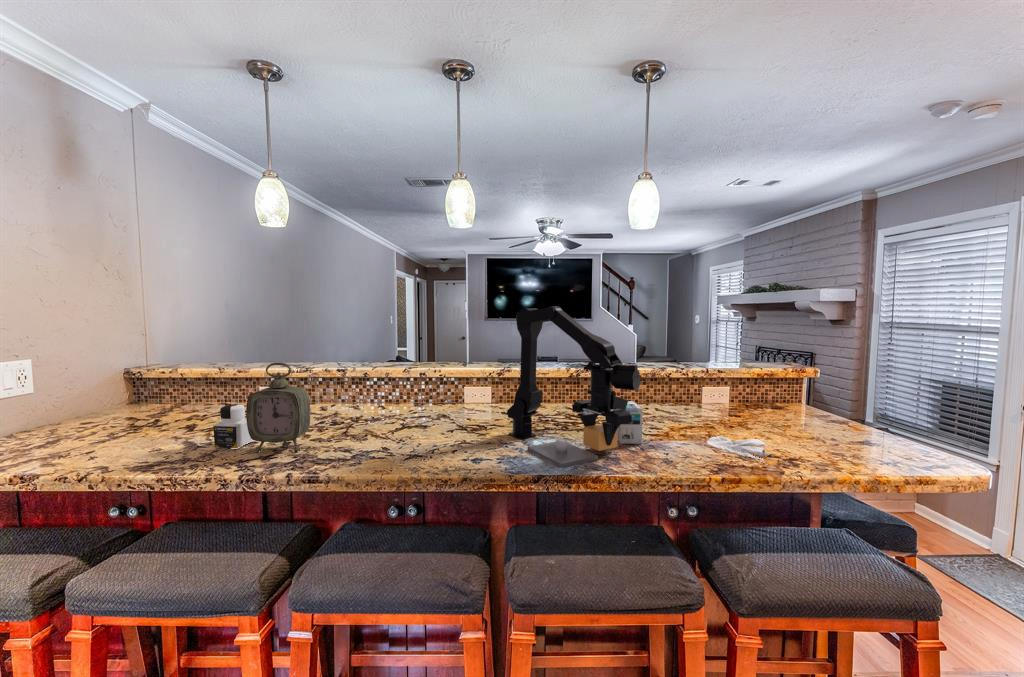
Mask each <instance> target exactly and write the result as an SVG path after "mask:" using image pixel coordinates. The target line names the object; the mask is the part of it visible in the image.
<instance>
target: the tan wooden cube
mask: <svg viewBox="0 0 1024 677" xmlns="http://www.w3.org/2000/svg"><path fill="white" fill-rule="evenodd" d="M617 437H618V429H617V430H616V433H615V435H614V438H613V440H612V443H611V445H609V446H607V444H606V441H605V436H604V430H603V425H602V423H599V424H595V425H592V426H587V427H585V426H583V436H582V438H583V439H582V440H583V441H582V442H583V445H584V446H586V447H588V448H591V449H593V450H596V451H598V452H600V451H605V450H610V449H614V448H618V439H617Z"/></svg>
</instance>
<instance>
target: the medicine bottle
mask: <svg viewBox="0 0 1024 677" xmlns="http://www.w3.org/2000/svg"><path fill="white" fill-rule="evenodd" d="M219 410H220V411H219V412H220V421H221V422H218V423H214V424H213V444H214V449H215V448H238V447H241V446H243V445H245V444H248V443H250V442H253V443H254V440H253V439H251V437H250V435H249V432H248V428H247V420H246V411H245V410H246V409H245V406H244V404H240V403H234V404H227V405H225V406H222V407H221V408H220V409H219ZM248 445H249V444H248Z"/></svg>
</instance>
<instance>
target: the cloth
mask: <svg viewBox="0 0 1024 677" xmlns="http://www.w3.org/2000/svg"><path fill="white" fill-rule="evenodd" d="M706 444H708V445H709V446H711V447H714V448H716V449H719V450H721V451H723V450H724V452H726V451H727V453H730V454H733V453H735V454H734V455H737V454H738V455H737V456H741V455H742V456H741V457H745V456H747V457H746V458H749V457H751V458H750V459H753V458H755V459H754V460H757V459H760V460H759V461H762V460H763V459H764V458H762V457H763V455H764V457H768V456H769V458H774V456H773V455H772V453H771V452H766V451H765V448H764V447H767V444H766V443H765V442H763V441H762V440H760V439H758V438H747V439H737V440H734V441H733V440H731V439H729V438H728V437H725V436H722V435H719V436H711V437H710V438H709V439H708V440H707V441H706ZM747 454H748V455H747ZM753 454H754V456H753ZM757 455H759V456H757ZM755 456H756V457H755ZM759 457H760V458H759ZM761 458H762V459H761ZM763 461H764V460H763Z"/></svg>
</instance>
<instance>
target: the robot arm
mask: <svg viewBox="0 0 1024 677" xmlns="http://www.w3.org/2000/svg"><path fill="white" fill-rule="evenodd" d="M515 319H516V320H515V321H516V328H517V331H518V333H519V336H520V339H521V340H520V342H521V343H520V369H519V370H520V374H519V375H520V377H519V385H518V388H517V390H516V391H515V394H514V400H513V404H512V405H511V406H510V407H509V408H508V409H507V410H506V414H507V418H509V419H512V431H510V432H508V436H511V437H513V438H515V439H517V440H521V439H527V438H533V437H536V436H537V435H536V433H533V422H532V419H533V418H532V416H535V415H536V414H537V411H538V409H539V408H540V407H541V404H542V403H543V390H542V389H539V388H538V386H537V359H538V358H537V356H538V355H537V352H538V337H539V335H540V333H541V331H542V328H543V324H544V323H546V322H552V323H553V325H555V326H557V327H558V328H559V329H560V330H562V331H563V332H564V333H565V334H566V335H567V336H569V338H571V339H572V340H574V341H575V342H576V343H577V344H578V345H579V346H580V348H581V350H582V352H583V354H584V355H585V356H586V357H587V358H588V359H589V361H588V363H587V364H586V365H584V367H583V368H582V369H583V370H585V371H590V389H587V392H586V394H587V395H590V397H589V398H590V400H588V399H585V400H583V399H582V400H577V401H574V402H573V403H572V412H574V413H577V416H578V417H579V419H580V420H581V422H582V423H583V427H587V426H592V425H596V423H597V422H596V421H597V419H598V417H599V416H602V417H604V418H605V419H604V420H605V421H603V422H601V424H602V425H603V430H604V436H605V441H606V444H607V446H609V445H611V443H612V440H613V438H614V435H615V433H616V430H617V428H618V427H619V426H620V425H621V424H626V423H632V415H631V414H630V412H627V411H626V407H627V403H628V401H629V400H628V399H627V398H622V397H620V396H616V390H613V389H612V388H613V387H614V389H618V390H625V391H626V390H627V391H634V392H637V391H638V390H639V389H640V386H641V382H642V381H641V378H642V376H641V373H640V370H639V368H638V365H637V364H624V363H623V362H622V361H621V359H620V357H619V356H618V355H617V353H616V350H615V349H616V348H615V346H614V345H613V342H610V341H609V340H607V339H605V338H603V337H601V336H599V335H596V334H594V333H592V332H590V331H589V330H588V329H586V328H585V327H584V326H583V325H581V324H580V323H579V322H577V321H576V320H575V319H574V318H572V317H571V316H570V315H569V314H567V313H566V311H564V310H563V309H562V308H561V306H548V307H543V308H539V309H538V308H534V307H533V308H521V309H519V311H518V312H517V314H516V316H515ZM612 386H613V387H612ZM615 409H622V410H615Z"/></svg>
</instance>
